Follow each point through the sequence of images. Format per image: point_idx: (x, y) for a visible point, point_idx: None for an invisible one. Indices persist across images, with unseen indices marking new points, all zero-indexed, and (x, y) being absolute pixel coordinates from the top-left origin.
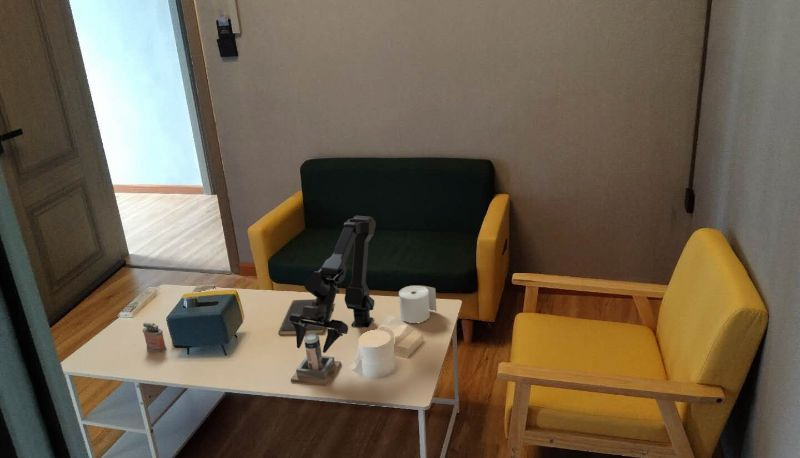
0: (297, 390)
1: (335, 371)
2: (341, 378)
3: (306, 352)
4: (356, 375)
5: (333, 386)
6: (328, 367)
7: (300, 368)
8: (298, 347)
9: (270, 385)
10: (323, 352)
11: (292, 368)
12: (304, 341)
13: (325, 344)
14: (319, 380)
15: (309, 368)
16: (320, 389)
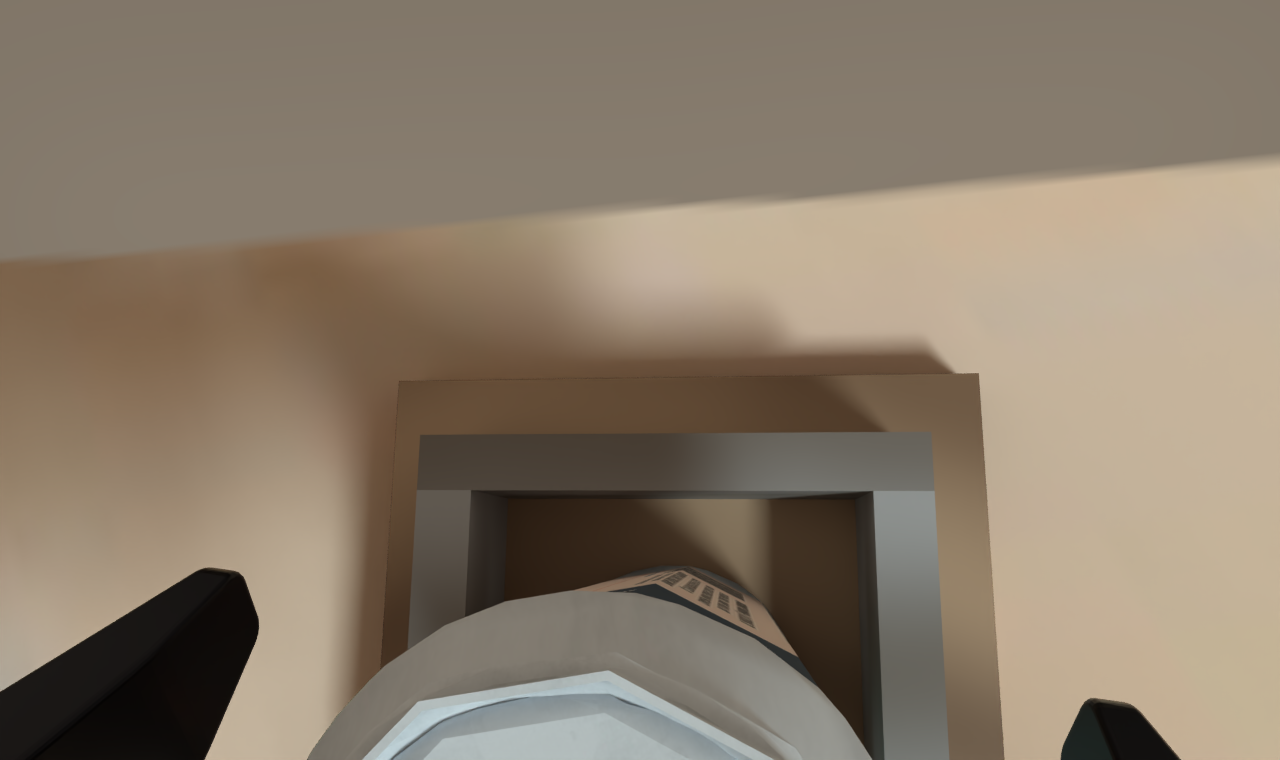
0: (773, 223)
1: None
2: (274, 597)
3: (773, 631)
4: None
5: (329, 401)
6: None
7: (872, 496)
8: (1081, 725)
9: (1231, 244)
10: (226, 573)
11: None
12: (821, 697)
13: (23, 723)
14: (520, 424)
15: (744, 594)
16: (475, 306)
